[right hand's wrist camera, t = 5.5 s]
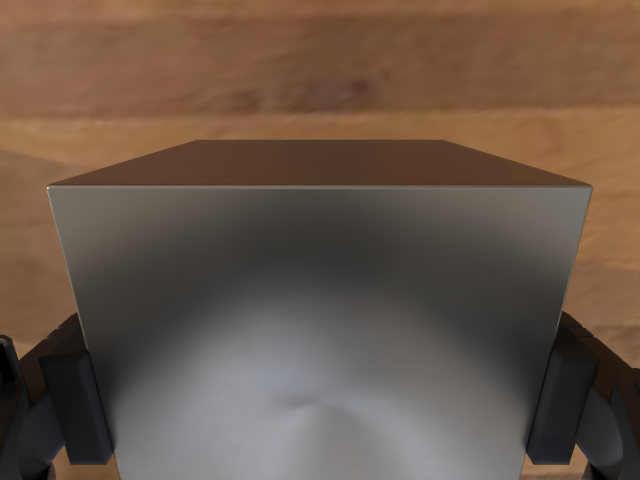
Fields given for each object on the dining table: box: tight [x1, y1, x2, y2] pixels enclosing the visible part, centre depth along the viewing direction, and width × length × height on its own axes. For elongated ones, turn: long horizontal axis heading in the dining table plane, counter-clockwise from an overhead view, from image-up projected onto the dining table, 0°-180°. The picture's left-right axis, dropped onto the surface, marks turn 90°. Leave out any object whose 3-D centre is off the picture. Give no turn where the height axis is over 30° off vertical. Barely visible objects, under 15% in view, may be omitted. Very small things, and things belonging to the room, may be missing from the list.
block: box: [46, 140, 593, 480], centre depth 12 cm, size 9×9×8 cm
